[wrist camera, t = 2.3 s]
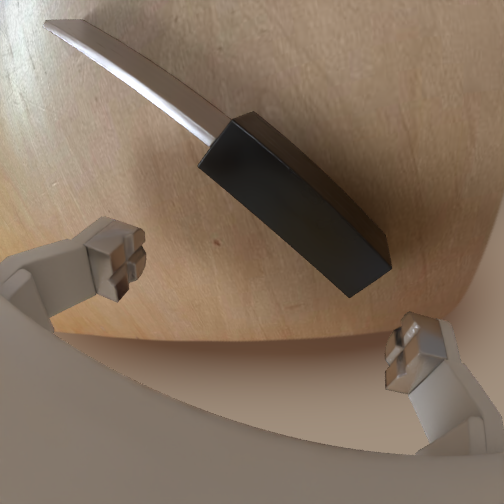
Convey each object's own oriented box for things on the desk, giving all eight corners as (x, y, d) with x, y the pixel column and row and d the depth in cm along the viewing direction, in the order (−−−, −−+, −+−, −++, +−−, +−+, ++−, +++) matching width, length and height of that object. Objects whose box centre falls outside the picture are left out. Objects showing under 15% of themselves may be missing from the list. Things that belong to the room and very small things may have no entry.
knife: (386, 235, 14) (393, 269, 12) (350, 263, 16) (349, 299, 13) (89, 5, 11) (52, 3, 8) (71, 39, 12) (36, 43, 10)
